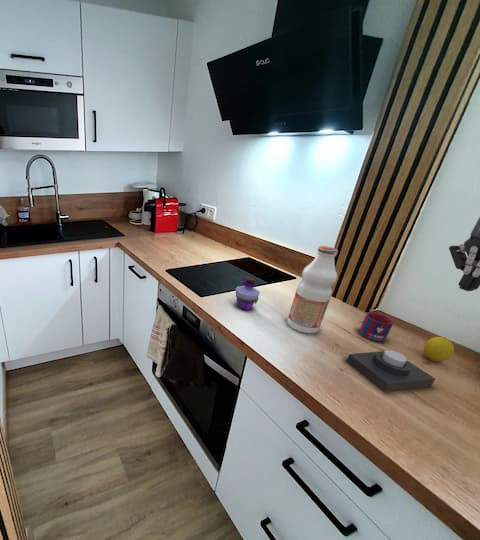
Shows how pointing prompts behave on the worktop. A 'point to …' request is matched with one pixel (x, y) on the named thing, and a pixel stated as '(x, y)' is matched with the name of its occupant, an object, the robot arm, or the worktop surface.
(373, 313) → the mug
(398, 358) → the flush button
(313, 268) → the fruit juice
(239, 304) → the potion bottle
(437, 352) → the lemon
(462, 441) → the worktop surface
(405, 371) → the flush plate
